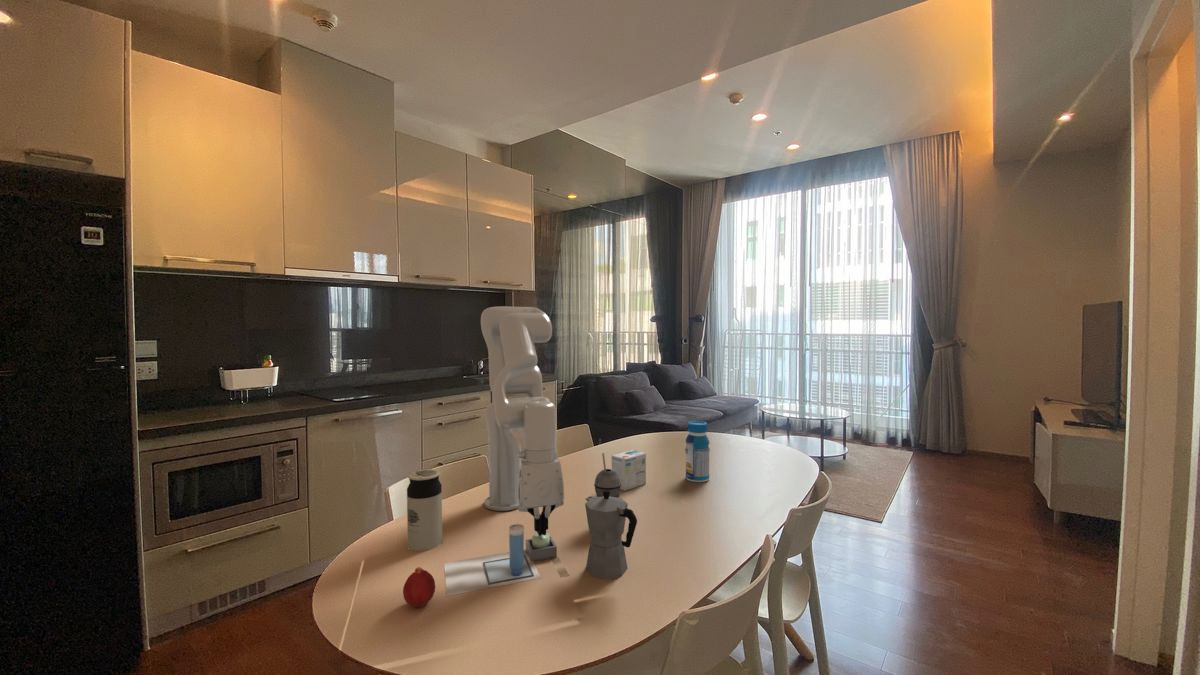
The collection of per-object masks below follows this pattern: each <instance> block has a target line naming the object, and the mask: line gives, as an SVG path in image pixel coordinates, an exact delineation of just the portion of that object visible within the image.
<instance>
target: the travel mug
mask: <svg viewBox="0 0 1200 675" xmlns="http://www.w3.org/2000/svg"><path fill="white" fill-rule="evenodd" d="M440 475H441V471H440V470H439V469H434V468H433V469H430V468H429V469H420V470H418V469H417V470H415V471H413V472H410V473H409V474H408V475H407V478H408V479H409V484H408V486H407V488H406V508H407V509H406V510H407V511H406V512H407V513H406V514H407V515H406V516H407V517H406V518H407V520H406V522H407V549H408V548H409V549H408V550H411V551H413V550H414V551H415V552H424V551H430V550H433V549H435V548H437V547H439V546H440V545H442V544H443V501H442V500H443V499H442V498H443V496H442V492H443V491H442V483H441V482H440V479H439V478H440Z"/></svg>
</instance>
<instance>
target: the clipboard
mask: <svg viewBox="0 0 1200 675" xmlns="http://www.w3.org/2000/svg"><path fill="white" fill-rule="evenodd" d="M550 560H551V562H552V564H553V566H554V568H555V569H556V571H557V574H558V575H559V577H560V578H563V577H569V576H570V573H569V572H568V570H567V569H566V567H565V565H564V564H563V562H562V560H561V558H560V557H559V555H558V554H557V558H552V559H550ZM443 564H444V565H443V566H444V580H445V592H446V597H450V596H455V595H459V594H466V593H470V592H471V593H472V592H478V591H482V590H487V589H493V588H497V587H501V586H506V585H507V586H508V585H513V584H517V583H523V582H529V581H533V580H537V579H538V580H539V579H541V578H542V577H541V575H540V573H539V571H538V569H537V567H536V565H535V561H534V562H531V561H530V558H529V556H528V554H527V552H526V548H524V566H523V567H522V574H521V575H520V576H512V575H511V568H510V555H509V551H508V552H507V551H506V552H502V553H496V554H489V555H484V556H478V557H472V558H467V559H465V558H464V559H460V560H459V559H458V560H454V561H447V562H444V563H443Z"/></svg>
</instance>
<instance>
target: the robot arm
mask: <svg viewBox="0 0 1200 675" xmlns="http://www.w3.org/2000/svg"><path fill="white" fill-rule="evenodd" d="M480 315H481V316H480V327H481V334H482V336H483V338H484V341H485V343H486V348H487V354H488V373H489V374H488V375H489V376H488V378H489V379H488V380H489V388H490V391H491V393H492V402H491V403H489V404H488V405H487V407H486V409H485V416H484V417H485V421H486V422H485V423H486V428H487V435H488V437H487V438H488V464H489V466H488V467H489V469H488V472H489V485H488V486H489V496H488V497H486V498H485V499H484V504H483V506H484V507H485V508H486V509H488V510H489V511H490V510H491V511H497V512H505V511H506V512H508V511H514V510H517V509H518V511H519V512H523V513H529V514H530V515H531V516H532V517H533V522H534V523H533V528H534V532H536V533H538V535H539V536H542V534H543V535H546V533H547V530H549V518H550V515H551V514H552V513H553V511H554V510H555V509H557V508H559V507H563V506H564V501H565V500H564V499H565V486H564V478H563V477H564V475H563V468H562V463H561V460H560V459H559V458H557V454H558V452H557V408H556V404H555V403H553V402H551V400H550V399H549V398H548V397H546V396H544V394H543V393H544V391H543V387H544V386H543V375H542V372H541V370H540V367H539V366H538V365H537V364H538V355H537V351H536V346H535V343H536V344H537V343H539V344H540V343H541V344H542V343H547V342H549V341H550V339H551V338H552V335H553V325H552V321H551V319H550V317H549V316H548V314H546V312H544V311H543V310H541V309H539V308H538V307H533V306H509V305H508V306H505V305H504V306H502V305H501V306H492V307H491V306H490V307H487V308H485V309H483V311H482V313H481V314H480ZM517 395H518V396H519V395H525V396H526V397H525V396H524V397H514V398H513V397H512V398H507V397H506V396H517ZM517 431H523V449H522V448H521V447H522V446H521V443H520V441H519V439H517V437H516V436H515V435H514V434H513V433H514V432H517ZM522 459H523V460H522ZM541 507H542V509H541V513H540V508H541Z"/></svg>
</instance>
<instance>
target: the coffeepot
mask: <svg viewBox="0 0 1200 675" xmlns="http://www.w3.org/2000/svg"><path fill="white" fill-rule="evenodd" d="M609 495H610V491H609V490H603V497H596V496H588V497H585V498H584V499H585V500H586V502H585V503H584V505H585V511H586V512H585V513H586V518H587V519H586V520H587V525H588V526H587V528H588V532H589V534H590V535H591V537H590V538H591V540H590V542H589V546H588V554H587V559H586V565H585V569H586V571H587V572H588V574H589V575H590V577H594V578H598V579H603V580H611V579H616V578H622V577H623V575H625V573H626V572H627V571H628V569H629V568H628V564H627V558H626V553H625V552H626V550H625V548H630V547H631V545H632V544H631V543H632V541H633V537H634V534H635V530H636V527H637V524H638V518H637V516H636V514H635V513H634V511H633V510H632V509H631V508H628V505H629V504H628V502H626V500H624V499H623V498H622V497H619V498H617V497H611V496H609ZM626 518H627V519H628V522H629V523H628V526H627V528H628V529H627V531H626V535H625V536H626V537H625V540H623V539H622V538H623V537H622V536H623V534H624V532H625V525H626Z"/></svg>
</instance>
